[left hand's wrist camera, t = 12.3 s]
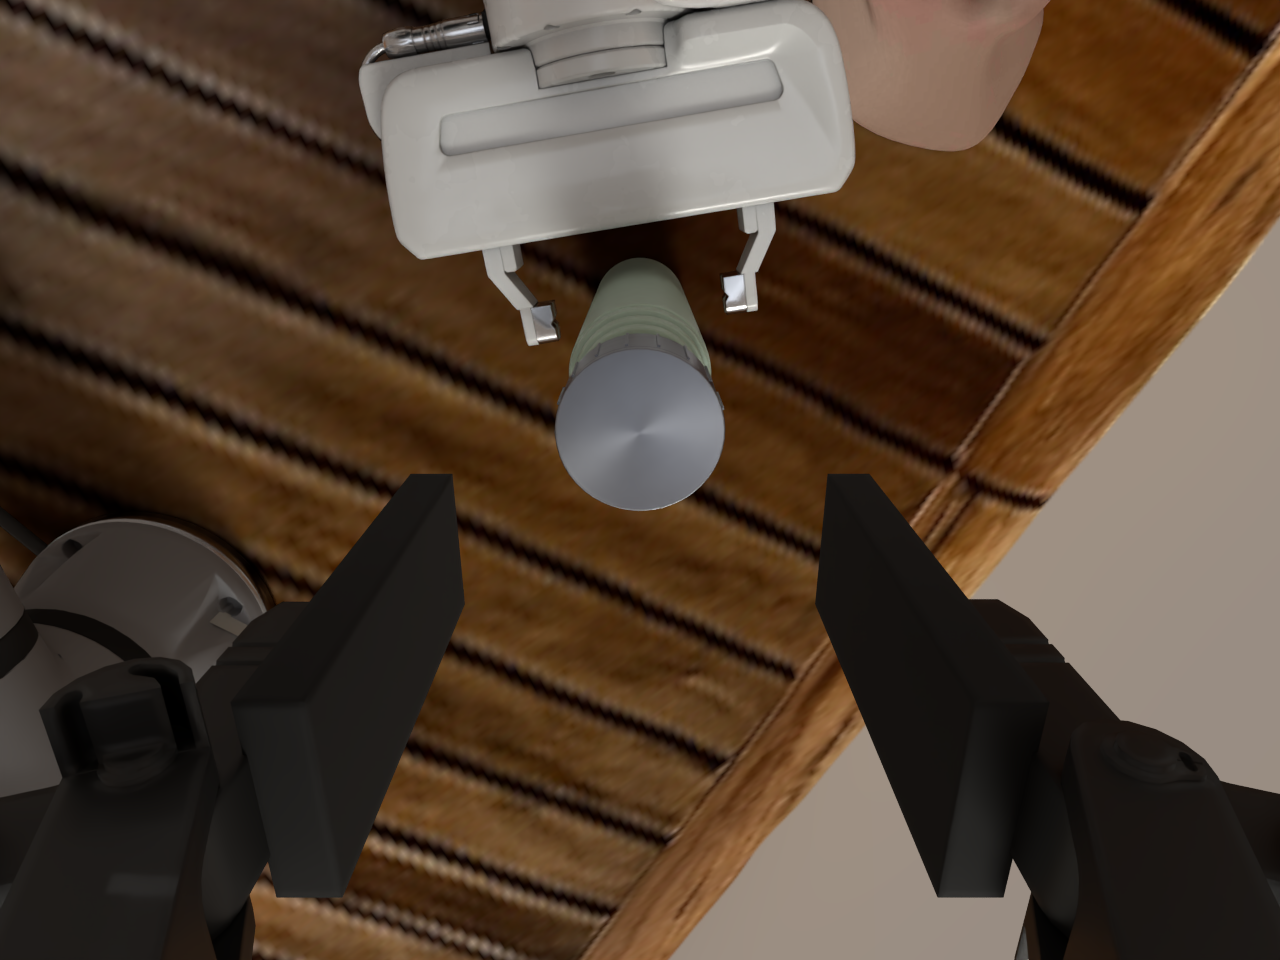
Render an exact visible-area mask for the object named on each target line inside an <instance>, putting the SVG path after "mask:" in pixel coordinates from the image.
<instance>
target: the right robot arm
mask: <svg viewBox="0 0 1280 960" xmlns="http://www.w3.org/2000/svg"><path fill="white" fill-rule="evenodd" d="M483 2H484V5H485V9H484V12H481V13H473V14H469V15H465V16H460V17H455V18H449V19H446V20H442V22H441V21H439V22H437V23H436V24H435V23H433V24H430V26H429V25H426V26H424V27H423V26H421V27H416V28H413V27H412V26H406V27H399V28H395V29H392V30H390V31H387V32H385V33H383V34H382V42H381V43H379V44H377V45H376V46H374V47H373V48H372V49H371V50H370V51H369V52H368V53H367V55H366V56H365V58H364V60H363V61H362V64H361V67H360V71H359V86H360V91H361V95H362V99H363V102H364V106H365V110H366V114H367V118H368V121H369V124H370V126H371V128H372V130H373V132H374V133H375V135H376V136H377V137H378V138H379V140H380V141H381V142H382V152H383V162H384V171H385V179H386V185H387V191H388V197H389V204H390V209H391V214H392V219H393V224H394V228H395V232H396V235H397V238H398V240H399V241H400V243H401V244H402V245H403V246H404V247H405V248H407V249H408V250H409V251H410V252H411V253H412V254H414V255H415V256H416V257H417V258H419V259H430V258H436V257H442V256H448V255H454V254H460V253H466V252H473V251H479V250H482V252H483V256H484V261H485V265H486V270H487V274H488V277H489V278H490V279H491V280H492V281H493V283H494V284H495V285H496V286H497V287H498V288H499V290H500V291H501V292H502V293H503V294H504V295H505V296H506V298H507V299H508V300H509V301H510V302H511V303H512V304H513V306H514V307H515V308H516V309H517V310H519V309H520V313H521V318H522V322H523V327H524V332H525V336H526V341H527V343H528V345H529V346H531V345H539V344H544V343H550V342H555V341H559V338H560V337H561V331H560V325H559V322H558V321H557V320H556V319H555V317H556V315H557V310H556V305H555V300H550V301H542V302H538V301H537V299H536V298H535V297H534V296H533V294H532V293H531V292H530V291H529V289H528V288H527V287H526V286H525V284H524V283H523V282H522V281H521V279H520V278H519V277H518V276H517V275H516V273H515V272H514V271H516V270H518V269H519V268H521V267H522V266H523V259H522V253H521V248H520V244H521V243H527V242H534V241H540V240H546V239H552V238H558V237H564V236H570V235H576V234H582V233H588V232H595V231H601V230H607V229H613V228H619V227H625V226H631V225H637V224H643V223H649V222H656V221H662V220H668V219H674V218H680V217H686V216H692V215H698V214H704V213H710V212H716V211H723V210H729V209H735V208H737V214H738V223H739V229H740V230H741V231H743V232H745V233H747V234H749V233H751V234H750V236H749V239H748V241H747V244H746V246H745V249H744V251H743V254H742V256H741V259H740V261H739V263H738V266H737V268H736V271H731V272H725V273H720V282H721V288H722V289H723V291H724V294H723V296H722V300H723V307H724V311H725V312H726V314H727V315H729V314H736V313H743V312H749V311H756V310H757V309H758V300H757V290H756V280H755V272H758V269H759V267H760V265H761V262H762V260H763V258H764V256H765V253H766V251H767V249H768V247H769V244H770V242H771V240H772V237H773V235H774V233H775V231H776V226H775V213H774V202H777V201H784V200H790V199H796V198H802V197H808V196H814V195H820V194H826V193H832V192H836V191H838V190H839V189H840V188H841V187H842V186H843V184H844V183H845V181H846V180H847V178H848V176H849V175H850V173H851V171H852V169H853V167H854V164H855V140H854V129H853V119H852V110H851V102H850V96H849V89H848V83H847V77H846V72H845V67H844V61H843V57H842V52H841V48H840V44H839V40H838V37H837V35H836V32H835V30H834V27H833V25H832V24H831V22H830V20H829V19H828V17H827V16H826V15H825V14H824V12H823V11H822V10H821V9H820V8H818V7H817V6H816V5H814V4H812V3H810V2H808V1H805V0H483ZM490 40H491V42H492V45H491V44H490ZM441 50H442V51H441ZM429 51H430V52H431V53H427V52H429ZM432 51H436V52H432ZM493 51H494V53H495V54H494V53H493ZM384 53H386V55H387V56H388V58H390V59H392V60H386V61H381V62H375V61H376V60H377V59H378V58H379V57H380V56H381V55H383V54H384ZM422 53H425V54H422ZM374 62H375V63H374Z"/></svg>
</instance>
